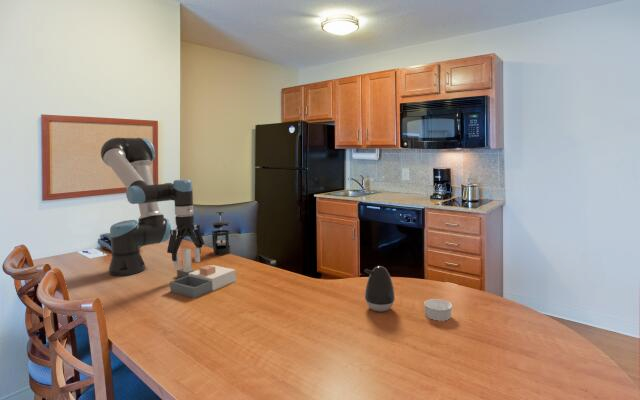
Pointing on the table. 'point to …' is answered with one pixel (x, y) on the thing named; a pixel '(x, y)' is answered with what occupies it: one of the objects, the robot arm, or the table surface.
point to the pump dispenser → (379, 289)
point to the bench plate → (217, 276)
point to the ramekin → (438, 309)
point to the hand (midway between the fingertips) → (187, 264)
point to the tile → (207, 270)
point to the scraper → (185, 264)
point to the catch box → (191, 286)
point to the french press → (221, 248)
